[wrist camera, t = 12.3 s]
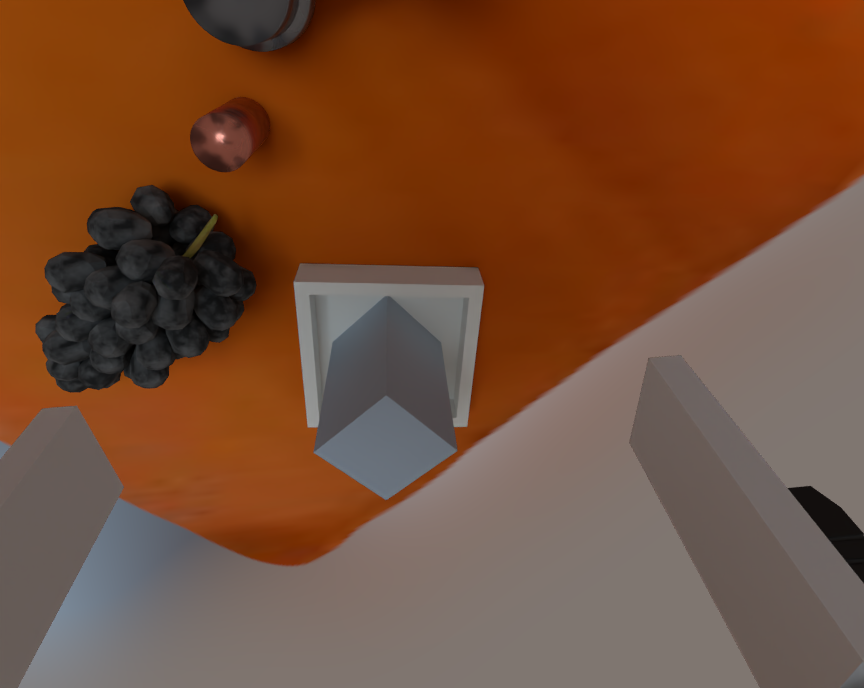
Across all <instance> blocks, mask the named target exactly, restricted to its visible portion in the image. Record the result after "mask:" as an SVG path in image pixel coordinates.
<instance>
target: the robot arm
mask: <svg viewBox="0 0 864 688" xmlns="http://www.w3.org/2000/svg"><path fill="white" fill-rule="evenodd" d="M629 443H630V445H631V447H632V448H633V451H634V452H635V454H636V456H637V458H638V460H639V462H640V463H641V465H642V467H643V469H644V471H645V473H646V475H647V477H648V479H649V480H650V482H651V484H652V486H653V488H654V490H655V492H656V494H657V495H658V497H659V499H660V501H661V503H662V505H663V507H664V509H665V511H666V512H667V514H668V516H669V518H670V520H671V522H672V524H673V526H674V527H675V529H676V531H677V533H678V535H679V537H680V539H681V540H682V542H683V544H684V546H685V548H686V550H687V552H688V554H689V556H690V557H691V559H692V561H693V563H694V565H695V567H696V568H697V571H698V573H699V574H700V576H701V578H702V580H703V582H704V584H705V586H706V588H707V589H708V591H709V593H710V595H711V597H712V599H713V601H714V603H715V604H716V606H717V608H718V610H719V612H720V613H721V616H722V618H723V619H724V621H725V623H726V625H727V627H728V629H729V631H730V633H731V634H732V636H733V638H734V640H735V642H736V644H737V646H738V648H739V649H740V651H741V653H742V655H743V657H744V659H745V661H746V662H747V664H748V666H749V668H750V670H751V672H752V674H753V676H754V678H755V680H756V681H757V683H758V685H759V687H760V688H864V533H863V532H862V531H861V530H860V529H859V528H858V527H857V525H856V524H855V523H854V522H853V521H852V520H851V519H850V517H849V516H848V515H847V514H846V513H845V512H844V511H843V509H842V508H841V507H839V506H838V505H837V504H835V503H834V502H832V501H831V500H830V499H828V498H827V497H825V496H824V495H823V494H821V493H820V492H818V491H817V490H815V489H814V488H813V487H811V486H805V487H795V488H787V487H786V486H785V485H784V483H783V482H782V481H781V480H780V478H779V477H778V476H777V475H776V473H775V472H774V471H773V470H772V468H771V467H770V466H769V465H768V463H767V462H766V461H765V460H764V458H763V457H762V456H761V455H760V453H759V452H758V451H757V450H756V448H755V447H754V446H753V445H752V443H751V442H750V441H749V440H748V439H747V437H746V436H745V435H744V433H743V432H742V431H741V430H740V428H739V427H738V426H737V425H736V423H735V422H734V421H733V420H732V418H731V417H730V416H729V415H728V414H727V412H726V411H725V410H724V408H723V407H722V406H721V405H720V404H719V402H718V401H717V400H716V398H715V397H714V396H713V395H712V394H711V392H710V391H709V390H708V388H707V387H706V386H705V385H704V384H703V383H702V381H701V380H700V378H698V376H697V375H696V373H695V372H694V371H693V370H692V368H691V367H690V366H689V365H688V364H687V362H686V361H685V360H684V358H683V357H682V356H681V355H677V356H665V357H654V358H648V363H647V367H646V371H645V376H644V380H643V384H642V389H641V393H640V398H639V402H638V406H637V411H636V415H635V420H634V424H633V428H632V432H631V437H630V442H629ZM123 488H124V486H123V485H122V483H121V481H120V479H119V478H118V476H117V474H116V473H115V471H114V469H113V467H112V466H111V464H110V462H109V461H108V459H107V457H106V455H105V454H104V452H103V450H102V448H101V447H100V445H99V443H98V442H97V440H96V438H95V436H94V435H93V433H92V431H91V429H90V428H89V426H88V424H87V423H86V421H85V419H84V417H83V416H82V414H81V412H80V411H79V409H78V407H77V406H68V407H56V408H44V409H41V411H40V412H39V413H38V414H37V416H36V417H35V418H34V419H33V420H32V422H31V423H30V424H29V425H28V426H27V428H26V429H25V430H24V431H23V433H22V434H21V435H20V436H19V437H18V439H17V440H16V441H15V442H14V443H13V445H12V446H11V447H10V448H9V450H8V451H7V452H6V453H5V454H4V456H3V457H2V458H1V459H0V688H18V686H19V684H20V682H21V680H22V679H23V677H24V675H25V672H26V671H27V669H28V667H29V665H30V663H31V662H32V659H33V658H34V656H35V654H36V652H37V650H38V648H39V646H40V645H41V643H42V641H43V639H44V637H45V635H46V633H47V631H48V629H49V628H50V626H51V624H52V622H53V620H54V618H55V616H56V614H57V612H58V611H59V609H60V607H61V605H62V603H63V601H64V599H65V597H66V595H67V594H68V592H69V590H70V588H71V586H72V584H73V582H74V580H75V579H76V577H77V575H78V573H79V571H80V569H81V567H82V565H83V563H84V562H85V560H86V558H87V556H88V554H89V552H90V550H91V548H92V546H93V545H94V543H95V541H96V539H97V537H98V535H99V533H100V531H101V529H102V528H103V526H104V524H105V522H106V520H107V518H108V516H109V514H110V512H111V510H112V509H113V507H114V505H115V503H116V501H117V499H118V497H119V495H120V494H121V492H122V490H123Z"/></svg>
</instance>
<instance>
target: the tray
mask: <svg viewBox="0 0 864 688" xmlns="http://www.w3.org/2000/svg"><path fill="white" fill-rule="evenodd" d="M294 291H295V301H296V312H297V322H298V332H299V342H300V353H301V363H302V373H303V383H304V393H305V404H306V414H307V424H308V427H318V424H319V418H320V412H321V407H322V401H323V395H324V389H325V383H326V378H327V372H328V366H329V360H330V354H331V349H332V343H333V341H334V340H336V339H337V338H338V337H339V336H340V335H341V334H342V333H344V332H345V331H346V330H347V329H348V328H349V327H350V326H352V325H353V324H354V323H355V322H356V321H357V320H358V319H359V318H361V317H362V316H363V315H364V314H365V313H366V312H367V311H369V310H370V309H371V308H372V307H373V306H374V305H375V304H377V303H378V302H379V301H380V300H381V299H382V298H383V297H385V296H390V297H391V298H392V299H393V300H395V301H396V302H397V303H398V304H399V305H400V306H401V307H402V308H403V309H405V310H406V311H407V312H408V313H409V314H410V315H411V316H412V317H413V318H414V319H416V320H417V321H418V322H419V323H420V324H421V325H422V326H423V327H424V328H426V329H427V330H428V331H429V332H430V333H431V334H432V335H433V336H434V337H436V338H437V339H438V340H439V341H440V342H441V345H442V352H443V359H444V365H445V372H446V378H447V385H448V392H449V398H450V405H451V411H452V418H453V425H454V427H467V423H468V415H469V407H470V399H471V391H472V382H473V374H474V366H475V358H476V349H477V341H478V333H479V325H480V317H481V308H482V300H483V292H484V283H483V280H482V278H481V275H480V272H479V269H478V268H477V267H433V266H390V265H346V264H302V263H300V265H299V268H298V271H297V274H296V276H295V279H294Z"/></svg>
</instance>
